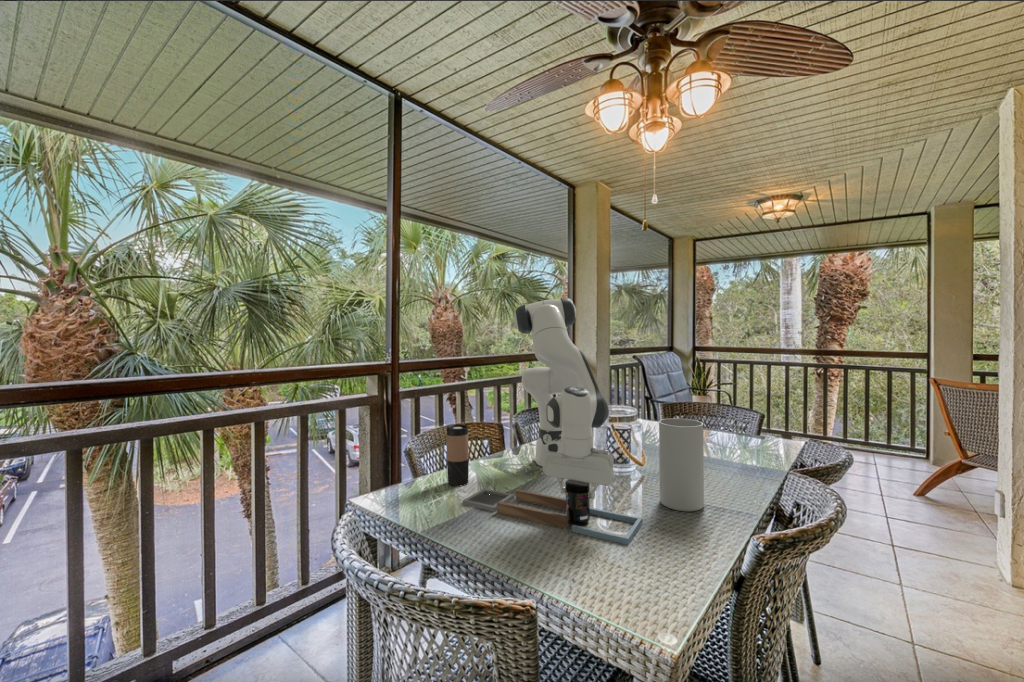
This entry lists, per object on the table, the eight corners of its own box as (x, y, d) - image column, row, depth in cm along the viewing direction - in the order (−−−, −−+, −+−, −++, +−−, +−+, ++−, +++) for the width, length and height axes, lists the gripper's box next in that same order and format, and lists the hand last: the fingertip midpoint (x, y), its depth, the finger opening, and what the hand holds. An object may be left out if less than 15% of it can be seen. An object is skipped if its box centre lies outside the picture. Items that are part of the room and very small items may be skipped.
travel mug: (467, 486, 150) (466, 429, 150) (445, 486, 151) (444, 429, 150) (470, 479, 158) (469, 424, 158) (449, 479, 158) (448, 424, 158)
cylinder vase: (708, 514, 125) (707, 427, 125) (662, 511, 128) (662, 426, 127) (698, 497, 137) (698, 418, 137) (657, 495, 140) (656, 417, 139)
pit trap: (484, 492, 145) (484, 488, 145) (514, 498, 139) (514, 494, 139) (462, 504, 135) (462, 500, 135) (494, 511, 129) (493, 507, 129)
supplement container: (579, 513, 126) (579, 477, 126) (595, 521, 120) (594, 484, 120) (560, 518, 123) (560, 481, 123) (575, 527, 117) (575, 488, 117)
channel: (517, 498, 139) (517, 489, 139) (583, 512, 128) (582, 502, 128) (497, 512, 128) (496, 502, 128) (566, 528, 117) (565, 517, 117)
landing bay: (590, 512, 127) (590, 507, 127) (642, 523, 120) (642, 517, 120) (571, 531, 115) (571, 526, 115) (628, 544, 108) (628, 538, 108)
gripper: (617, 448, 119) (617, 498, 119) (549, 439, 129) (550, 486, 129) (609, 453, 113) (610, 506, 113) (539, 444, 124) (540, 492, 124)
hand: (577, 495), depth 121 cm, fingers closed on supplement container, 7 cm apart
